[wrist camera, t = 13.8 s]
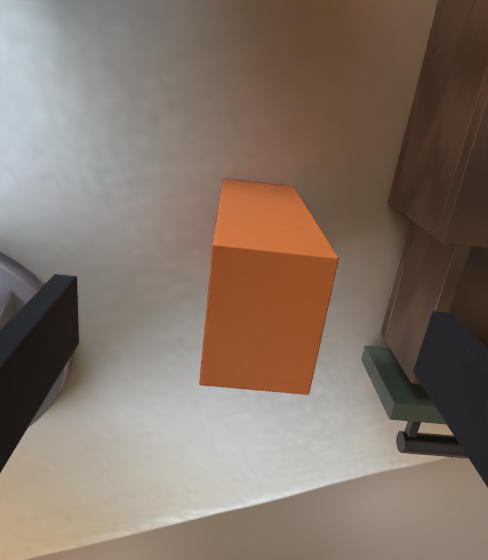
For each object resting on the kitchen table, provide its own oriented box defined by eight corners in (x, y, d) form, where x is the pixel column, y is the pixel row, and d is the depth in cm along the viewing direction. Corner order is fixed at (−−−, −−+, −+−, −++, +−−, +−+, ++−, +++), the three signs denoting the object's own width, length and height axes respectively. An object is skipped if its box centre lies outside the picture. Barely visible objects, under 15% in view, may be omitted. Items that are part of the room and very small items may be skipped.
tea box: (280, 274, 30) (309, 395, 18) (214, 267, 30) (198, 385, 18) (294, 186, 27) (339, 257, 16) (223, 178, 27) (212, 244, 15)
